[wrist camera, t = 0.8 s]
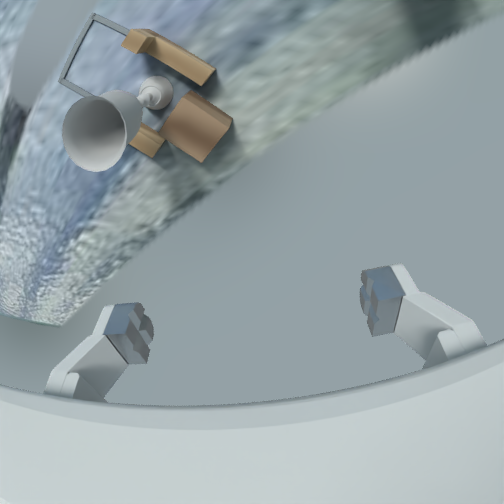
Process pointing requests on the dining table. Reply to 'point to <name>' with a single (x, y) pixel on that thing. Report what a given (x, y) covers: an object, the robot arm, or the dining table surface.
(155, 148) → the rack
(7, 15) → the dining table surface
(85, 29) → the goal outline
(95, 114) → the chalice
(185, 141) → the walnut block
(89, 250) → the dining table surface
